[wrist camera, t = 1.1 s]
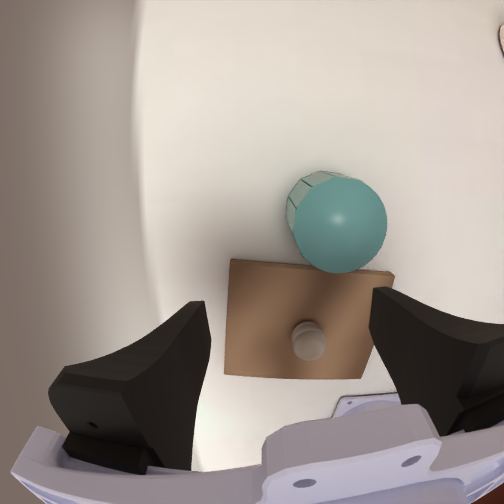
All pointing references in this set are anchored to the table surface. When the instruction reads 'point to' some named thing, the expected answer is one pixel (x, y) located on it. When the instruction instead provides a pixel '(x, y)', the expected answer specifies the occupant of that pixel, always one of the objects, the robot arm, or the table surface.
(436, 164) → the table surface
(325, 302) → the stud board
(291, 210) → the cap
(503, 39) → the can
